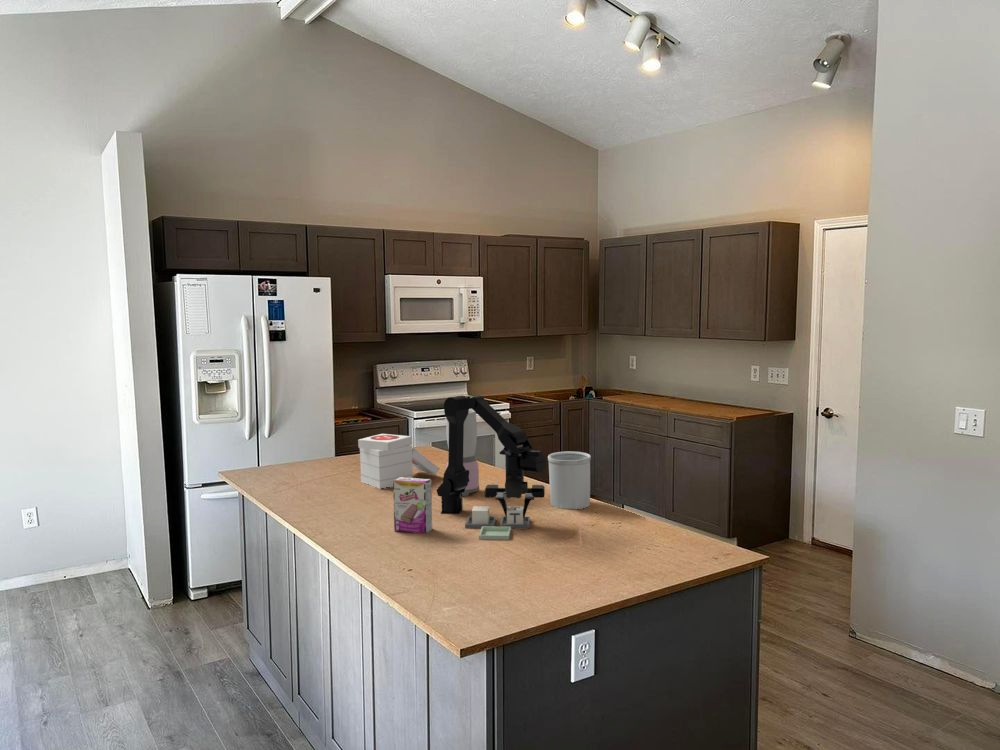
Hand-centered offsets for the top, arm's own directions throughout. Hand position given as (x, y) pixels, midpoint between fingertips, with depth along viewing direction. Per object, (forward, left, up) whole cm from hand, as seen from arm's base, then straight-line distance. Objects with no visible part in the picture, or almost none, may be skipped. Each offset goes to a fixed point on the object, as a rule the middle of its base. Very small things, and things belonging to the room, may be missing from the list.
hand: (515, 517), depth 236 cm
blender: (-22, +40, -3) cm, 46 cm away
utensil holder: (+18, +25, -3) cm, 30 cm away
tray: (-5, -11, -2) cm, 13 cm away
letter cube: (0, 0, -2) cm, 2 cm away
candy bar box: (-31, -6, -3) cm, 32 cm away
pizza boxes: (-51, +60, -3) cm, 78 cm away
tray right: (0, 0, -2) cm, 2 cm away
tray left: (-11, 0, -2) cm, 11 cm away
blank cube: (-11, 0, -2) cm, 11 cm away
